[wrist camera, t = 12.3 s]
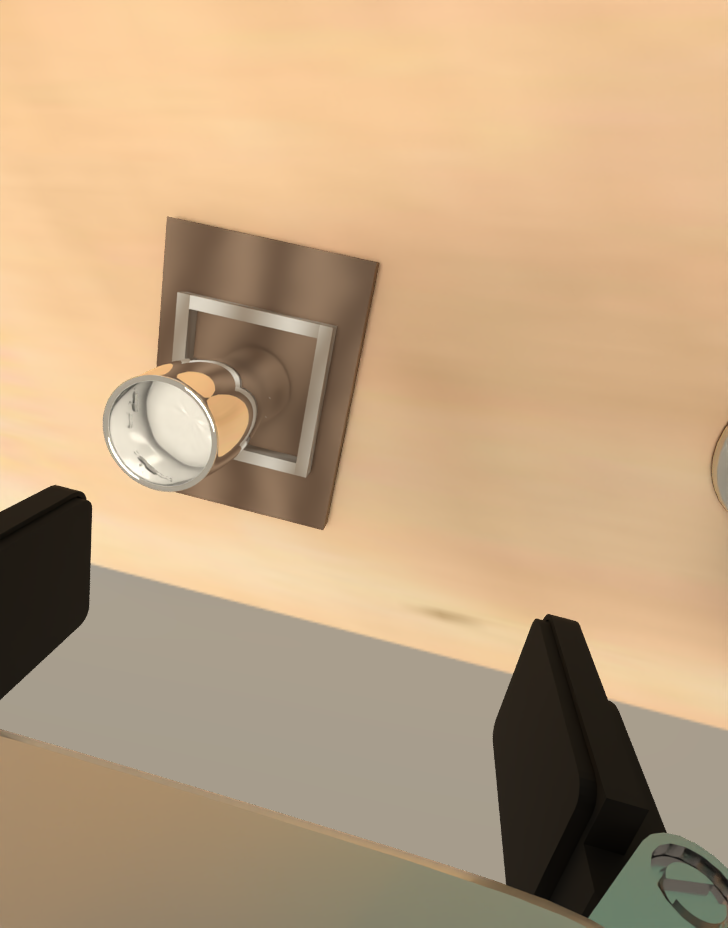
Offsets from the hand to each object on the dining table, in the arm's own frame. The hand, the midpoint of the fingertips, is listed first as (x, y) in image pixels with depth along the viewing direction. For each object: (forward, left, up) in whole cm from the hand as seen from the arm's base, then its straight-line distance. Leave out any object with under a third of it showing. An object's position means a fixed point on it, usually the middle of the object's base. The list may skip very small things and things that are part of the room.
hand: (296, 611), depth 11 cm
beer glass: (+12, +4, -32) cm, 34 cm away
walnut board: (+12, +4, -33) cm, 36 cm away
